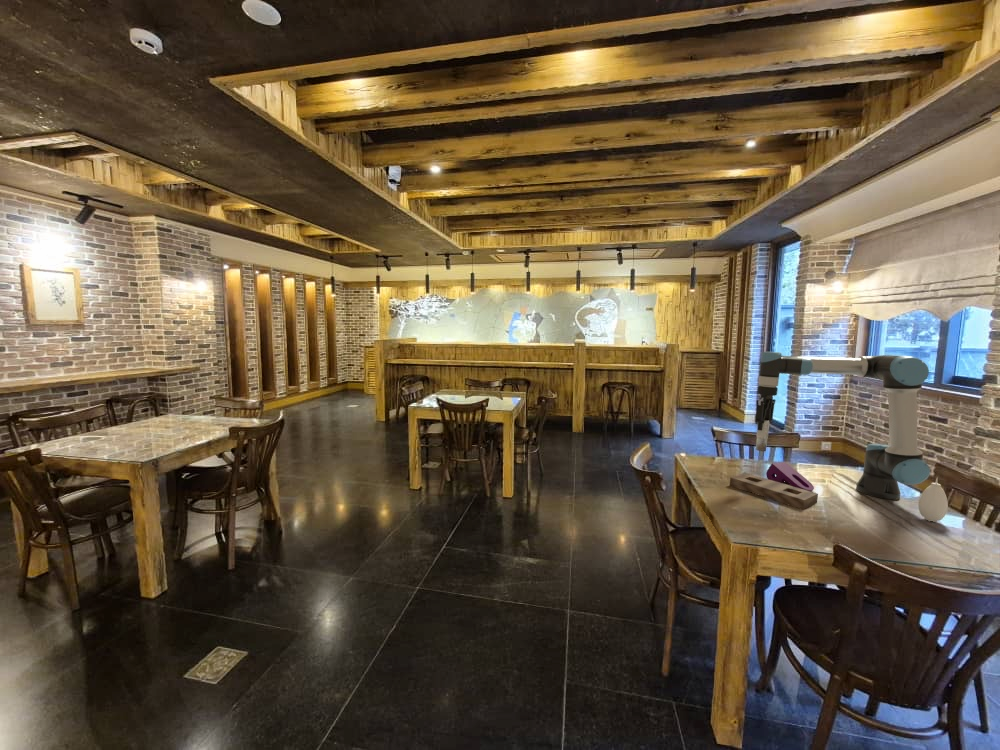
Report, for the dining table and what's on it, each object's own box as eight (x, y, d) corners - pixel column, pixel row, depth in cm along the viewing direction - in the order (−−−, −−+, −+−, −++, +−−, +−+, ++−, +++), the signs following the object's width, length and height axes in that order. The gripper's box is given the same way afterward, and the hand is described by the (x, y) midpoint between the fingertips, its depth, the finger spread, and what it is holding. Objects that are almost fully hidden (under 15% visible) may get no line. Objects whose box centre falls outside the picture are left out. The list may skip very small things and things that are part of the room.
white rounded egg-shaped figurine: (912, 517, 165) (918, 474, 164) (923, 515, 168) (929, 472, 166) (938, 526, 158) (945, 481, 156) (949, 524, 161) (956, 479, 159)
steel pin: (767, 450, 189) (770, 420, 187) (763, 451, 186) (766, 421, 185) (758, 448, 192) (761, 418, 190) (754, 449, 190) (757, 419, 188)
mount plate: (817, 502, 178) (818, 493, 177) (803, 509, 170) (804, 500, 170) (744, 480, 202) (745, 472, 202) (729, 485, 195) (730, 477, 194)
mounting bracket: (808, 501, 194) (776, 474, 208) (818, 489, 190) (785, 461, 204) (794, 504, 191) (763, 475, 205) (804, 491, 187) (772, 463, 201)
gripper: (767, 384, 194) (761, 432, 196) (750, 385, 184) (744, 436, 187) (785, 386, 188) (779, 436, 190) (768, 387, 178) (762, 440, 181)
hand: (762, 436), depth 189 cm, fingers closed on steel pin, 4 cm apart
